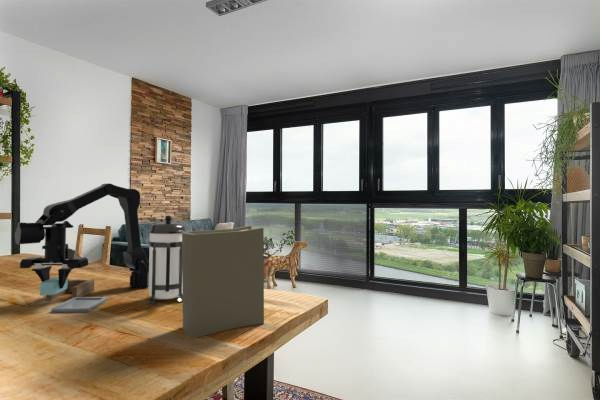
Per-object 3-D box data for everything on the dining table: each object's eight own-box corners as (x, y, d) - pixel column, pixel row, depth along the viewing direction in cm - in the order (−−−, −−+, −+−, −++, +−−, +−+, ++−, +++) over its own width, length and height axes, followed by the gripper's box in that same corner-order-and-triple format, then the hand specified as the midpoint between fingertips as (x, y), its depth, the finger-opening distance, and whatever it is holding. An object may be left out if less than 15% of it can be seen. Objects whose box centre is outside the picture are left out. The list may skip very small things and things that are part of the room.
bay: (94, 291, 132) (94, 279, 132) (76, 300, 120) (77, 287, 120) (66, 291, 131) (66, 279, 131) (46, 300, 119) (46, 287, 119)
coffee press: (131, 302, 119) (133, 215, 119) (168, 291, 133) (170, 214, 133) (166, 310, 111) (168, 217, 111) (202, 298, 125) (204, 215, 125)
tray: (107, 300, 120) (107, 296, 120) (88, 312, 107) (88, 308, 107) (74, 300, 119) (74, 297, 119) (51, 312, 106) (51, 308, 106)
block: (67, 277, 119) (53, 282, 111) (67, 288, 119) (53, 294, 111) (55, 277, 119) (40, 282, 111) (55, 288, 119) (40, 295, 111)
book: (189, 341, 88) (188, 232, 88) (179, 329, 96) (179, 229, 96) (263, 323, 100) (263, 228, 100) (249, 314, 108) (249, 225, 108)
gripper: (96, 239, 124) (95, 282, 124) (41, 238, 122) (40, 282, 122) (79, 243, 113) (79, 290, 113) (18, 242, 111) (17, 291, 111)
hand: (54, 288), depth 115 cm, fingers closed on block, 4 cm apart
